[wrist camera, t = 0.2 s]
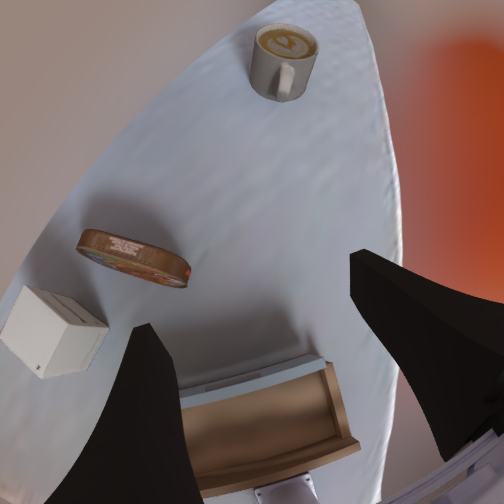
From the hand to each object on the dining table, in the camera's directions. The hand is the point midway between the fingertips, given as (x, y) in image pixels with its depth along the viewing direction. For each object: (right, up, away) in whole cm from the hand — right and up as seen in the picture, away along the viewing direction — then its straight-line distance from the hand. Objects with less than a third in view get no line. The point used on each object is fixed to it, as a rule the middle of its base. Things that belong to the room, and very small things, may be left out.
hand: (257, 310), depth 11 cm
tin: (-15, 0, +31) cm, 34 cm away
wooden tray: (-1, -20, +27) cm, 34 cm away
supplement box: (-24, -9, +28) cm, 38 cm away
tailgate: (-2, -14, +26) cm, 30 cm away
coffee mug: (+4, +30, +40) cm, 50 cm away
